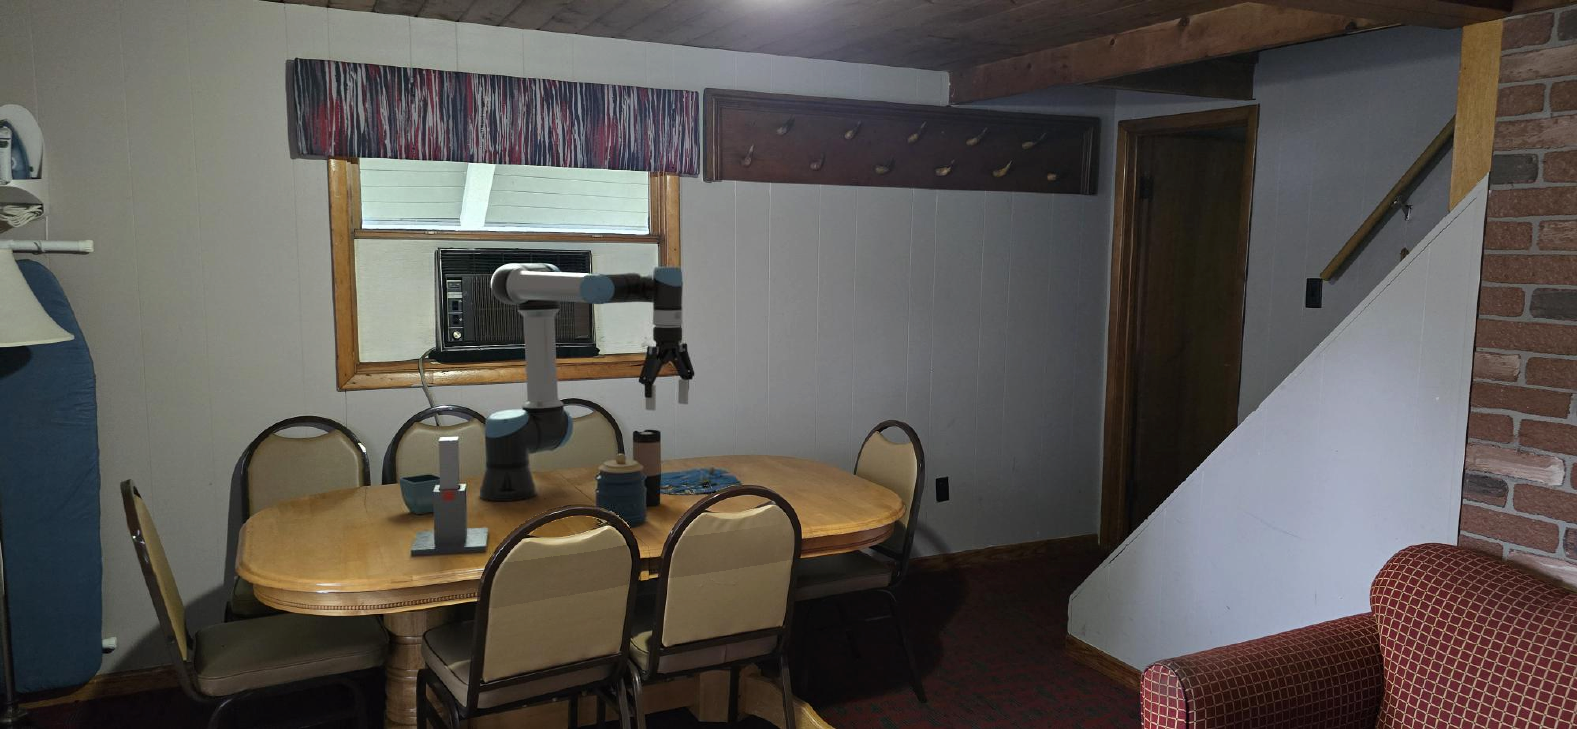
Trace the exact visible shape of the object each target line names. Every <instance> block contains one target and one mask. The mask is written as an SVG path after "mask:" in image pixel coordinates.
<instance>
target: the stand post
mask: <svg viewBox="0 0 1577 729" xmlns="http://www.w3.org/2000/svg"><path fill="white" fill-rule="evenodd" d="M459 445H460V444H459V436H449V437H448V436H447V437H439V440H438V456H439V457H438V459H439V460H438V461H439V463H438V464H439V466H438V467H439V477H440V491H441V490H460V484H461V483H460V452H459V451H460V450H459V448H460V447H459Z"/></svg>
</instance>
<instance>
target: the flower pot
mask: <svg viewBox="0 0 1577 729" xmlns="http://www.w3.org/2000/svg"><path fill="white" fill-rule="evenodd" d="M398 479H399V485H400V492H401V496H402V500H403V503H404V504H405V506H406V507H407V509H408V510H409V512H412V513H414V514H416V515H421V514H422V515H423V514H428V513H434V504H433V491H434V488H435V486H436V485H440V475H436V474H433V473H426V474H418V475H412V476H406V477H405V476H404V477H400V478H398Z"/></svg>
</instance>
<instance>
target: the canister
mask: <svg viewBox="0 0 1577 729" xmlns="http://www.w3.org/2000/svg"><path fill="white" fill-rule="evenodd" d="M597 469H598V470H599V473H597V474H596V475H595V476H594V479H595V481H596V488H595V489H594V490H595V507H596V506H597V507H599V508H604V509H606V510H608V511H612V512H614V513H615V514H616V515H619V517H620V518H621V519H623V520H624V521H625V522H627V524H628V525H629V526H631V527H630V528H633V527H638V526H641V525H643V524H646V522H647V517H648V511H647V507H646V490H647V488H646V487H645V479H646V478H647V475H646V474H645V473H643V472H642V469H643V466H642V465H641V464H639V463H638V462H637V461H634V460H633V459H627V457H626V454H624V453H618V454H617V455H616V456H615V459H611V460H606V461H605V462H604V463H602V464H601V465H599V466H598V467H597ZM596 520H597V521H598V522H600V523H598V524H601V523H603V522H602V521H601V520H599V519H596V518H595V521H596ZM598 524H597V525H598Z"/></svg>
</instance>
